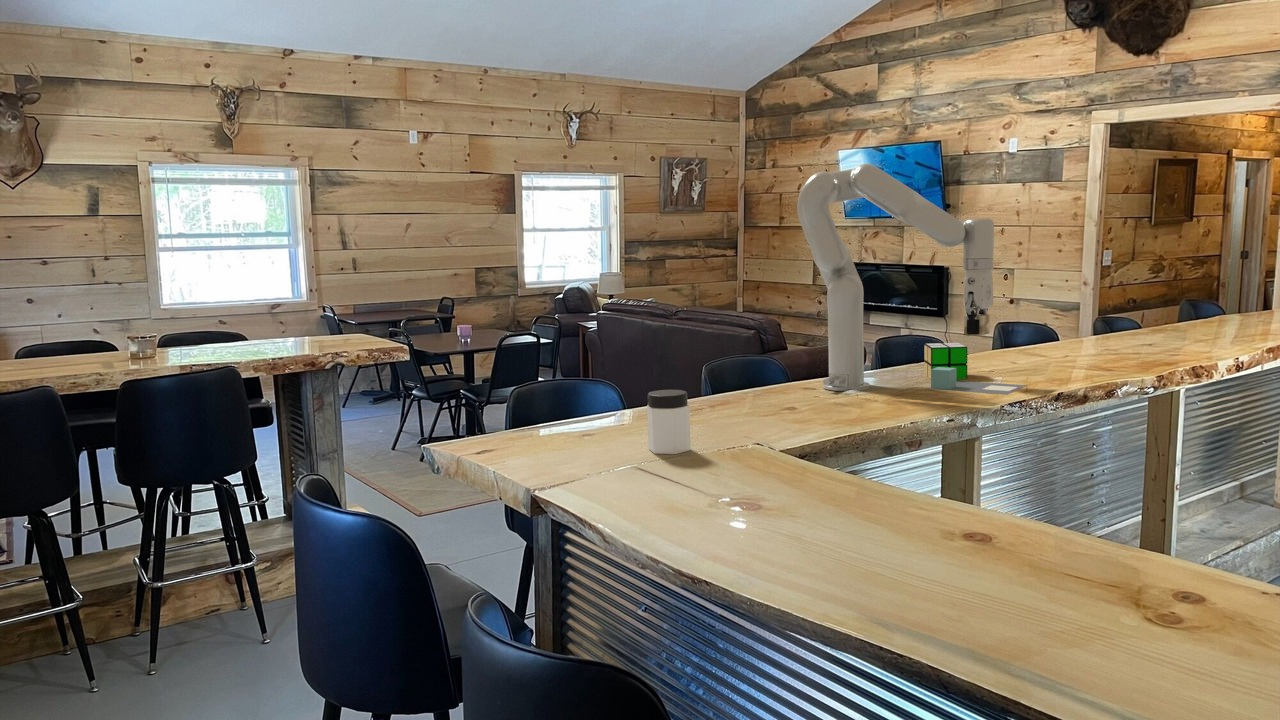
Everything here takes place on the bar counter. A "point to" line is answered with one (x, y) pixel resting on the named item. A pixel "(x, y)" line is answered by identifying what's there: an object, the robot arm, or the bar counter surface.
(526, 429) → the bar counter surface
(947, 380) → the teal block
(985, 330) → the maple block
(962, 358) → the puzzle cube
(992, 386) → the slate board
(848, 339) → the robot arm
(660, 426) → the jar
